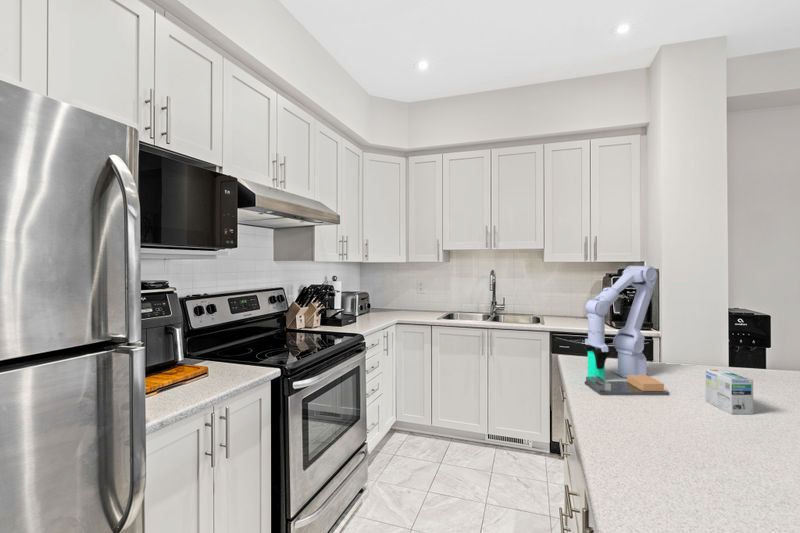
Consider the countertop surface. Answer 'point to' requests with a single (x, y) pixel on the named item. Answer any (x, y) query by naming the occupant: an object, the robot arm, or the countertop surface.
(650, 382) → the tan flat block
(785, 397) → the countertop surface
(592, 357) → the candle
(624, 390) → the dark grey flat block
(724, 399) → the light bulb box
